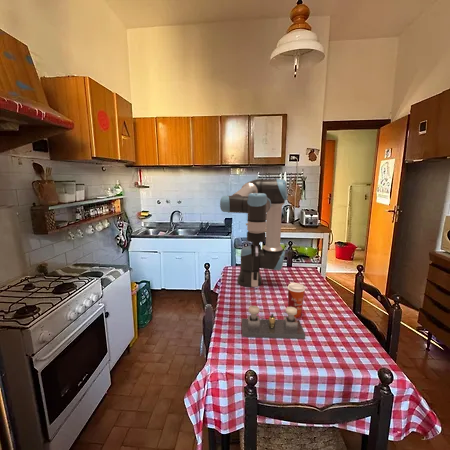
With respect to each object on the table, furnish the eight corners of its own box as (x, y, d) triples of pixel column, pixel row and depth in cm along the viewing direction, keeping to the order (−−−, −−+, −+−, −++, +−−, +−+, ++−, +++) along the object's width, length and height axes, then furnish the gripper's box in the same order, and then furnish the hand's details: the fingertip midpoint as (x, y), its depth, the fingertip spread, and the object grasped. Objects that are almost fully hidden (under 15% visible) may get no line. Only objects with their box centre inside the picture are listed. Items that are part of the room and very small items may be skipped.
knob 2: (284, 316, 117) (285, 306, 116) (295, 317, 117) (295, 306, 116) (286, 322, 112) (287, 311, 112) (297, 322, 112) (298, 312, 111)
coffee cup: (291, 320, 124) (293, 290, 121) (282, 311, 132) (284, 283, 129) (307, 317, 126) (309, 288, 124) (298, 309, 134) (299, 281, 131)
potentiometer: (268, 324, 117) (269, 312, 116) (274, 324, 117) (275, 312, 116) (269, 327, 114) (269, 315, 113) (275, 327, 114) (275, 316, 113)
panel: (241, 322, 122) (241, 311, 121) (298, 324, 121) (299, 313, 120) (242, 336, 111) (242, 325, 110) (305, 338, 110) (305, 327, 109)
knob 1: (248, 315, 118) (248, 305, 117) (258, 315, 117) (258, 305, 117) (248, 321, 113) (248, 310, 112) (259, 321, 113) (259, 311, 112)
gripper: (246, 228, 115) (245, 279, 119) (247, 234, 102) (246, 292, 106) (263, 228, 115) (262, 280, 119) (267, 234, 102) (265, 292, 106)
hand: (254, 285), depth 112 cm, fingers closed
